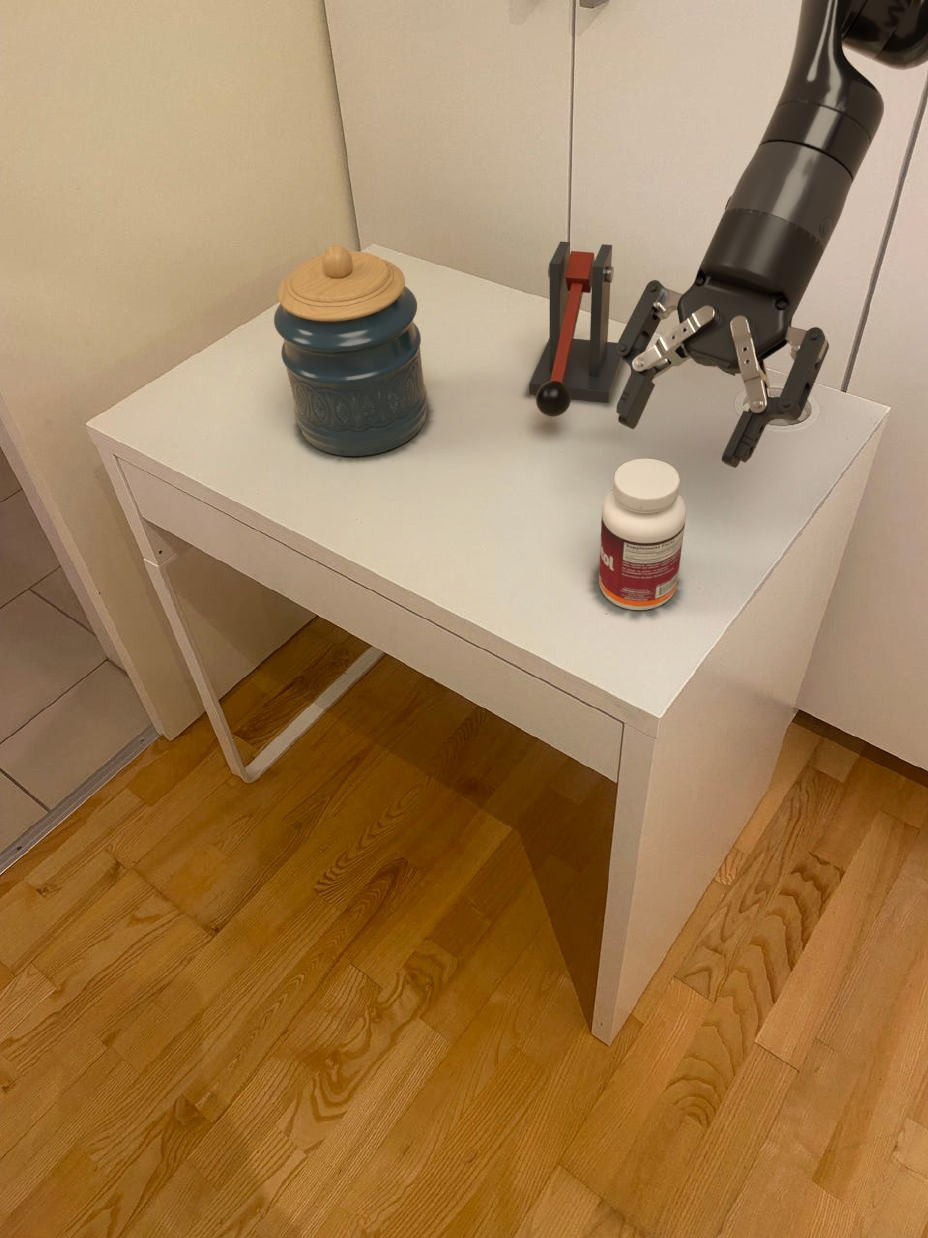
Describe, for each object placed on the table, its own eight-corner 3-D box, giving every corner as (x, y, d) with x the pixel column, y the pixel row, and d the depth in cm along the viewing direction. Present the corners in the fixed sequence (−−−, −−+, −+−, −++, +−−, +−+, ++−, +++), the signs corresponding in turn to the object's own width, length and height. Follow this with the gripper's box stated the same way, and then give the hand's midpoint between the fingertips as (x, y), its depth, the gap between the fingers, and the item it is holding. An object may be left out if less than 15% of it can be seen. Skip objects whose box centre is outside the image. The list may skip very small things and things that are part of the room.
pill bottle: (598, 558, 79) (604, 449, 71) (674, 560, 78) (689, 450, 70) (597, 612, 75) (602, 503, 67) (677, 615, 74) (693, 506, 66)
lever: (568, 424, 88) (565, 409, 85) (535, 420, 89) (530, 405, 86) (601, 269, 91) (599, 249, 88) (568, 267, 92) (565, 247, 89)
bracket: (608, 403, 94) (615, 280, 85) (529, 394, 96) (527, 273, 87) (624, 354, 100) (632, 234, 90) (550, 346, 102) (550, 228, 92)
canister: (383, 368, 101) (359, 201, 88) (455, 422, 93) (440, 248, 80) (275, 416, 96) (233, 246, 83) (341, 477, 88) (306, 301, 76)
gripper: (879, 275, 67) (775, 488, 70) (699, 228, 74) (610, 424, 77) (866, 231, 61) (752, 468, 63) (670, 184, 67) (574, 400, 70)
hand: (675, 444), depth 70 cm, fingers open, 8 cm apart
